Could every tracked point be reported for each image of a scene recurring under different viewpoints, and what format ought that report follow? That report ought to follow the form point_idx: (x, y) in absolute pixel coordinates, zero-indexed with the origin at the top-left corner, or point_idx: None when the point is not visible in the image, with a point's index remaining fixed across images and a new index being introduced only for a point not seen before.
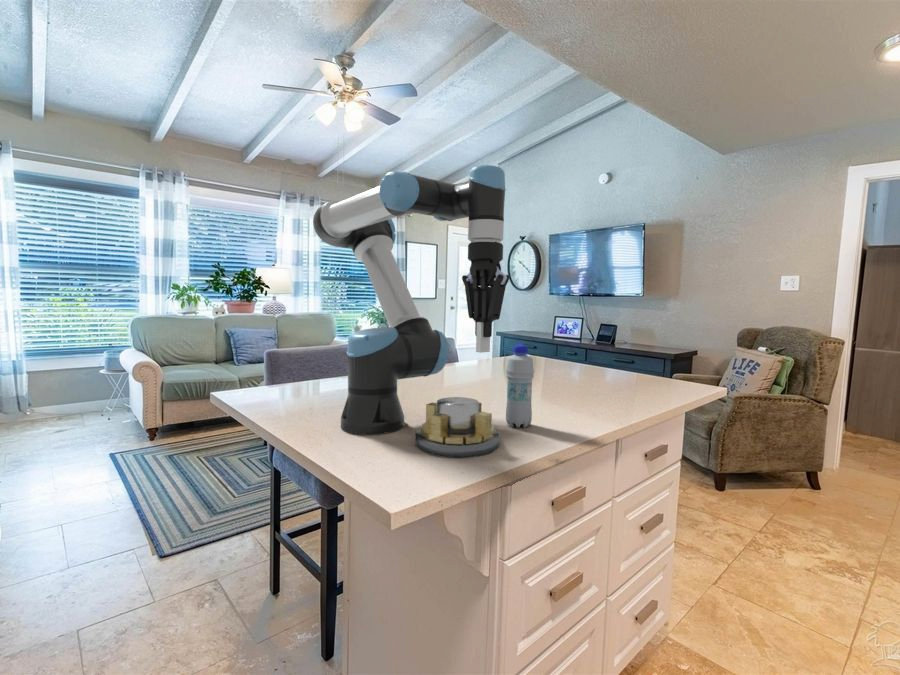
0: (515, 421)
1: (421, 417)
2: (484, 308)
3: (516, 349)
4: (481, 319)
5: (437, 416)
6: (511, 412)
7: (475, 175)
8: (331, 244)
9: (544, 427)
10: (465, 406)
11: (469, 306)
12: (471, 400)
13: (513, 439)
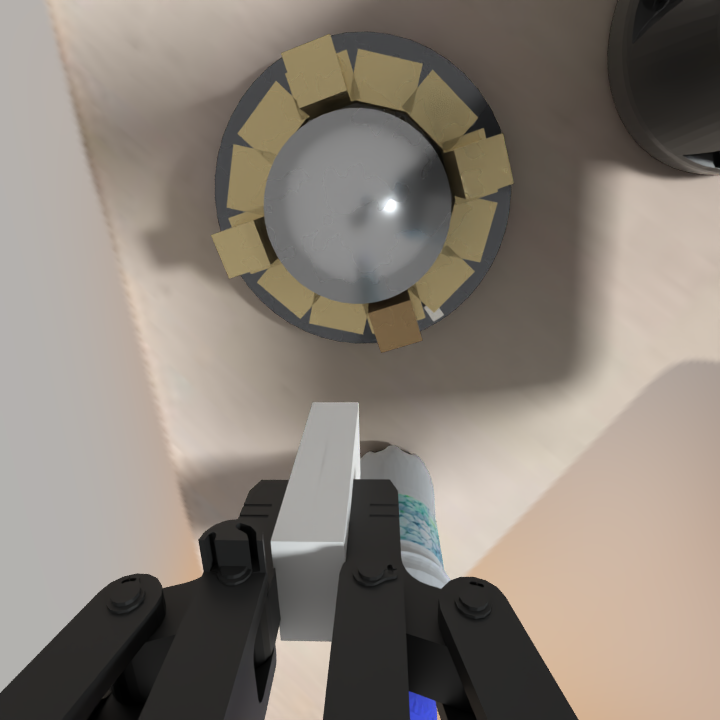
0: (369, 455)
1: (685, 275)
2: (173, 692)
3: None
4: (257, 564)
5: (297, 48)
6: (384, 466)
7: None
8: None
9: None
10: (270, 187)
11: (523, 718)
12: (345, 279)
13: (294, 370)
